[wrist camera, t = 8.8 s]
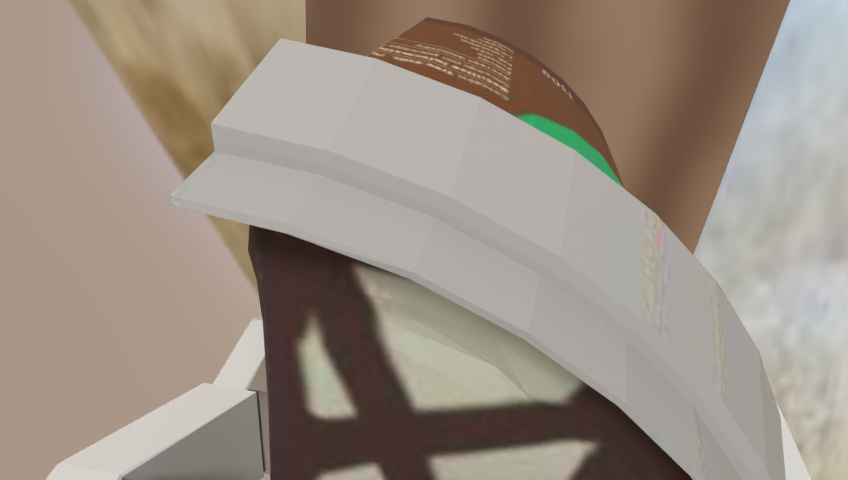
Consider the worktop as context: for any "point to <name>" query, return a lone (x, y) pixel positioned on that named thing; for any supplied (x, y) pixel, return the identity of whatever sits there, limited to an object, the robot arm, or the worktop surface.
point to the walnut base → (615, 75)
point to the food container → (471, 278)
